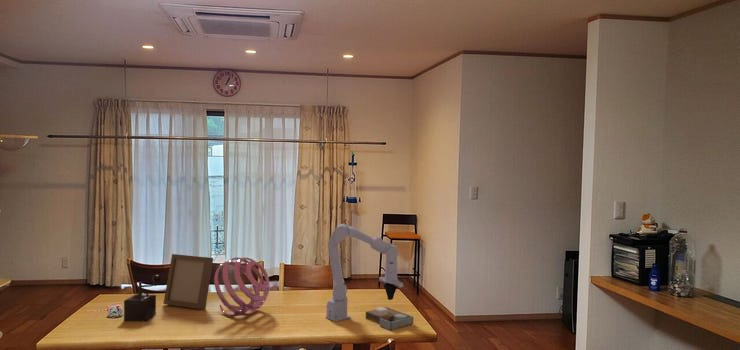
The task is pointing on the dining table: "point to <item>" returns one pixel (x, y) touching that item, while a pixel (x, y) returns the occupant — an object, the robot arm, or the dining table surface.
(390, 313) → the board
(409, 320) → the tray
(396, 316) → the sage tile
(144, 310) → the manual coffee grinder
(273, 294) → the dining table surface
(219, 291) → the spiral basket
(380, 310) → the beige block
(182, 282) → the photo frame
